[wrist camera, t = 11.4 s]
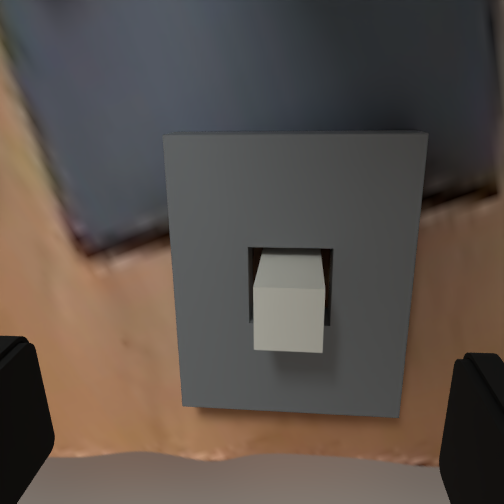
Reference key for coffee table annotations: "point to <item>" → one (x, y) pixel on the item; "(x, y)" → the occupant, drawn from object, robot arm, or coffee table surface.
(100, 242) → the coffee table surface
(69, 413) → the coffee table surface
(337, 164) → the socket plate
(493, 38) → the coffee table surface
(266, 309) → the plug
